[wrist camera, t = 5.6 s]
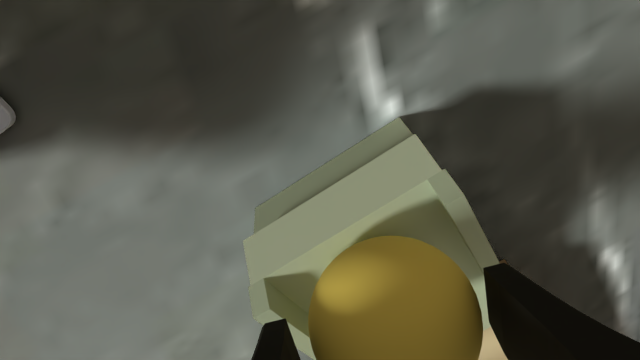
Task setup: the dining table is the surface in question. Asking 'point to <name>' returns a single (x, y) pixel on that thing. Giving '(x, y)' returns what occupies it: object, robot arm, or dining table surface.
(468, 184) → the dining table surface
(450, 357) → the ball
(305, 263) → the ramp
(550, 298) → the robot arm
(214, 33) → the dining table surface
